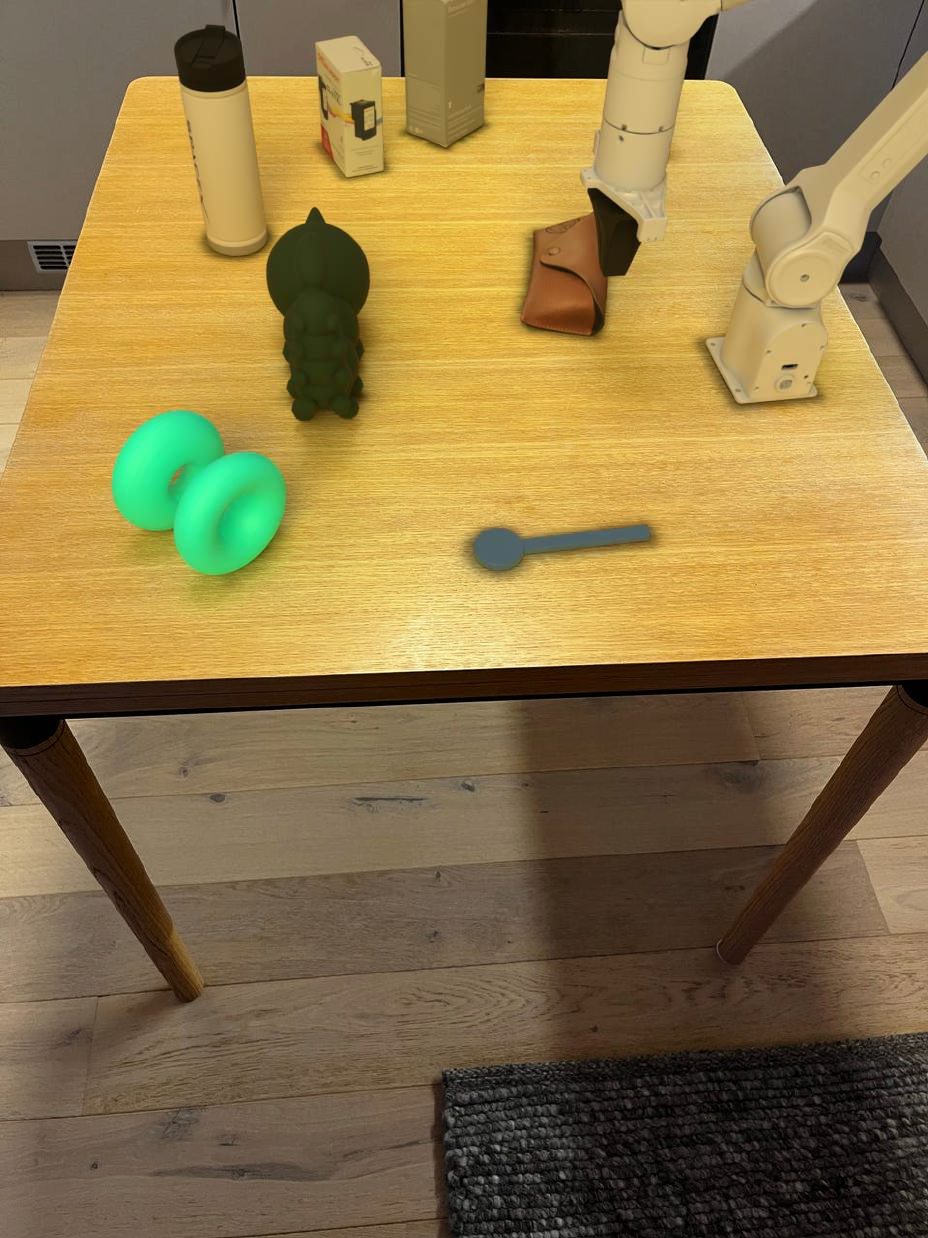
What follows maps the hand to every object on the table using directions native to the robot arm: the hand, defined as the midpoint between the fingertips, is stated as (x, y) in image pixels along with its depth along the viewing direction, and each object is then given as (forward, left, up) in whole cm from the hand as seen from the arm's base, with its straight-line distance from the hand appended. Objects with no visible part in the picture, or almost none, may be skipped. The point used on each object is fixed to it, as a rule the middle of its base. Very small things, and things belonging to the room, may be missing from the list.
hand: (612, 271), depth 89 cm
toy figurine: (+2, +26, -10) cm, 28 cm away
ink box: (+41, +19, -10) cm, 46 cm away
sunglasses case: (+13, 0, -10) cm, 16 cm away
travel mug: (+25, +33, -10) cm, 42 cm away
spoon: (-23, +10, -9) cm, 27 cm away
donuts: (-18, +37, -10) cm, 42 cm away
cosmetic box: (+47, +7, -10) cm, 48 cm away
